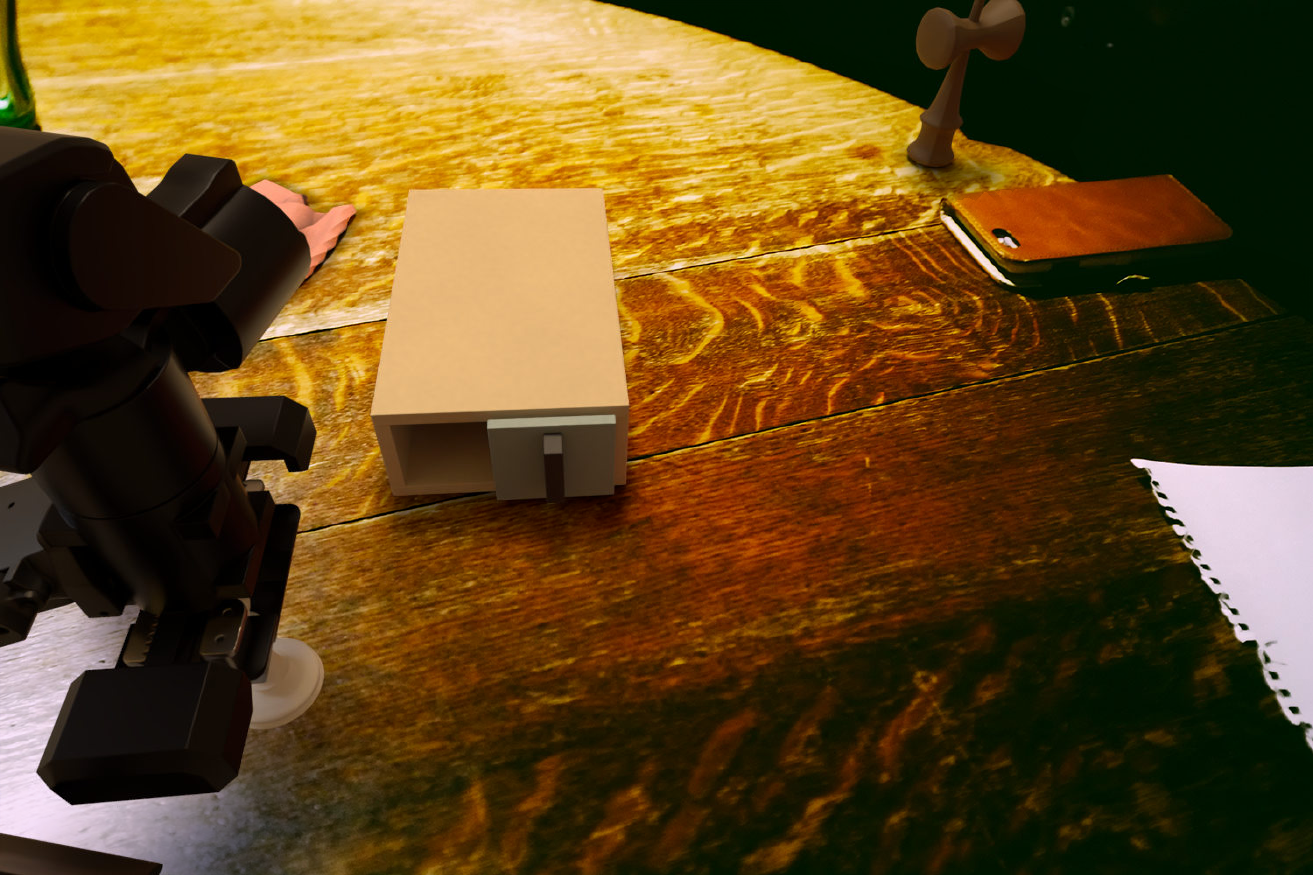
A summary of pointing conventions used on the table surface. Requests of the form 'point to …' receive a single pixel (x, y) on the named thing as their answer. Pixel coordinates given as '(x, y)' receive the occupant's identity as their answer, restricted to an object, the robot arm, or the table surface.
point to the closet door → (553, 457)
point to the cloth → (309, 219)
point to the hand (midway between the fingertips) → (260, 660)
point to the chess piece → (286, 682)
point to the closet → (495, 330)
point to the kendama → (959, 66)
